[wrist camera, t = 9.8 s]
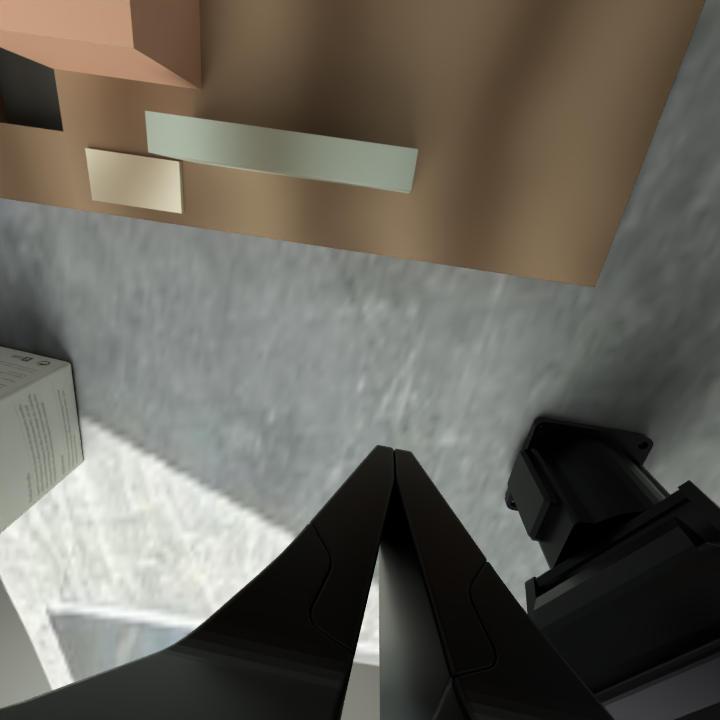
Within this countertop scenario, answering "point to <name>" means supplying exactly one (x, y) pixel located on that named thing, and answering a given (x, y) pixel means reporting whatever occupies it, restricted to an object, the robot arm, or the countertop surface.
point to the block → (108, 37)
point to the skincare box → (34, 429)
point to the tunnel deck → (371, 128)
